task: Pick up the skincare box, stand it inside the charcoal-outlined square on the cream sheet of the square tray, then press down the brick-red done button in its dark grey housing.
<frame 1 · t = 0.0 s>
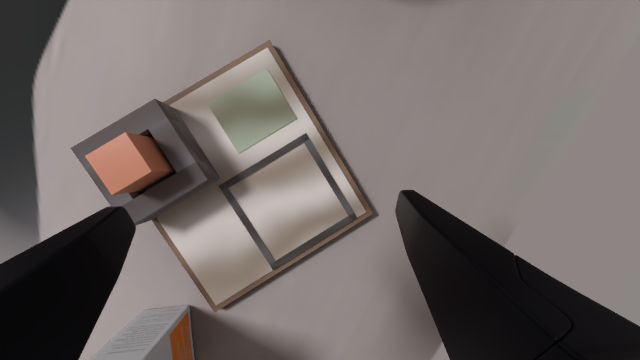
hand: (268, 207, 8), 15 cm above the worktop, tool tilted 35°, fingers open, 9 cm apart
square tray: (243, 178, 23), on the worktop
done button: (134, 164, 18), point 5 cm above the worktop, slide at 0.0 cm
skincare box: (172, 334, 23), on the worktop
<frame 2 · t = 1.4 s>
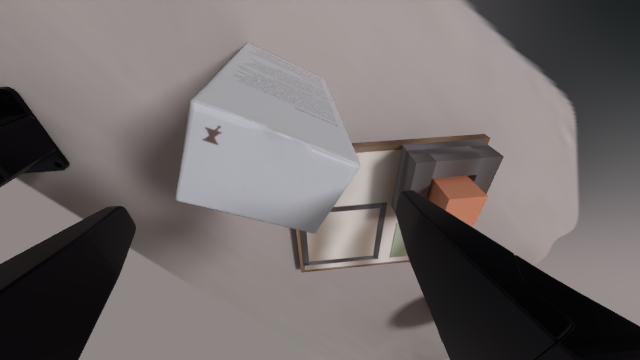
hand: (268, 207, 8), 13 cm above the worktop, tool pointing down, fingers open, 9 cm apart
square tray: (377, 211, 27), on the worktop
done button: (452, 200, 21), point 5 cm above the worktop, slide at 0.0 cm
skincare box: (279, 88, 19), on the worktop
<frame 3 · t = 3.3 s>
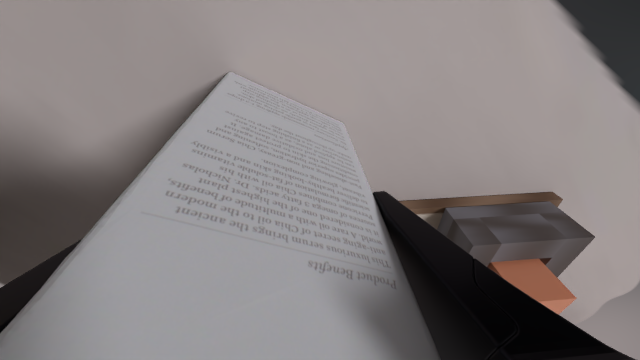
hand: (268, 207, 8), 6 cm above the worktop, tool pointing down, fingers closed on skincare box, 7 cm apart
square tray: (400, 275, 21), on the worktop
done button: (515, 289, 15), point 5 cm above the worktop, slide at 0.0 cm
skincare box: (277, 133, 13), on the worktop, touching gripper
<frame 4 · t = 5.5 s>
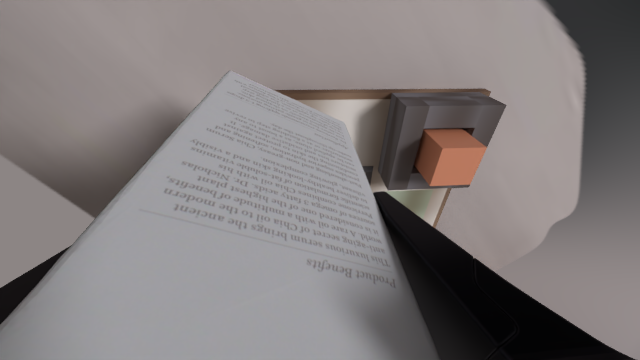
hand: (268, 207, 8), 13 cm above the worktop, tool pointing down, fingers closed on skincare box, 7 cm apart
square tray: (362, 178, 24), on the worktop
done button: (446, 156, 18), point 5 cm above the worktop, slide at 0.0 cm
skincare box: (278, 132, 13), point 7 cm above the worktop, touching gripper
when the fingers open (8 cm above the worktop, at t = 7.8 s): skincare box drops 1 cm, resting on square tray.
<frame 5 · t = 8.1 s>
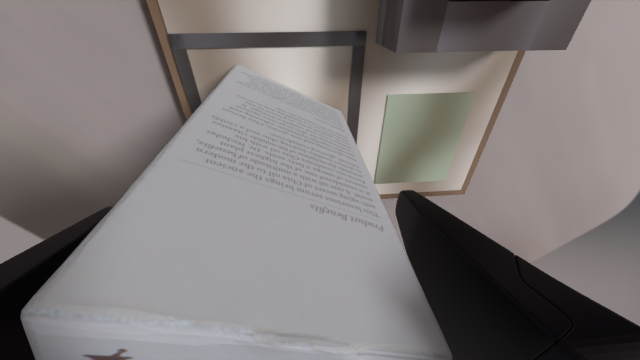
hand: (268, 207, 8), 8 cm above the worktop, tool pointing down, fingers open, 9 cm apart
square tray: (349, 72, 14), on the worktop
skincare box: (280, 122, 14), point 1 cm above the worktop, touching square tray
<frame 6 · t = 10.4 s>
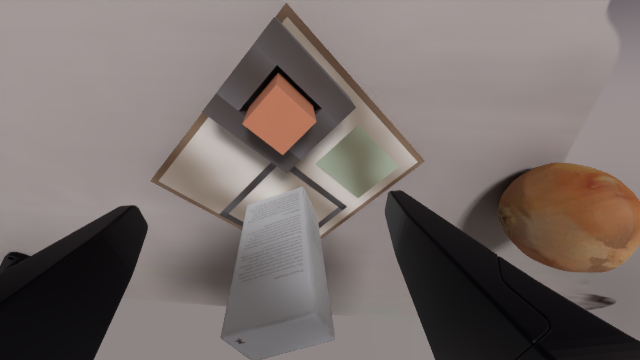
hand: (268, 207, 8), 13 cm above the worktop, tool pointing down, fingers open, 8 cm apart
square tray: (292, 166, 23), on the worktop
onion: (521, 184, 28), on the worktop
done button: (280, 113, 16), point 5 cm above the worktop, slide at 0.0 cm
skincare box: (284, 208, 25), point 1 cm above the worktop, touching square tray
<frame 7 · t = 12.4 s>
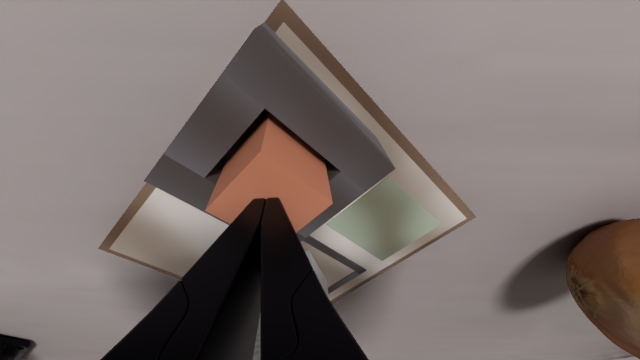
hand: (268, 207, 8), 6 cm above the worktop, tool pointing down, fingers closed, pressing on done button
square tray: (293, 223, 17), on the worktop
onion: (594, 235, 21), on the worktop
done button: (273, 180, 10), point 4 cm above the worktop, slide at 0.3 cm, touching gripper
skincare box: (283, 272, 19), point 1 cm above the worktop, touching square tray
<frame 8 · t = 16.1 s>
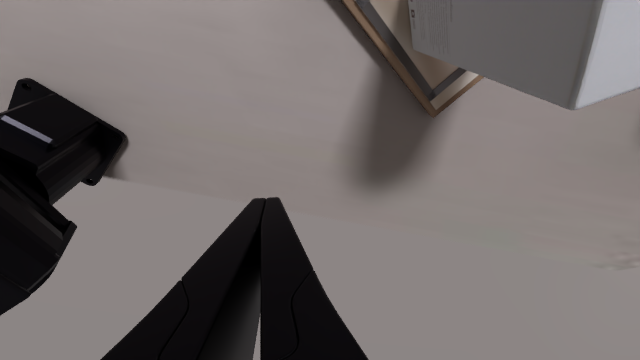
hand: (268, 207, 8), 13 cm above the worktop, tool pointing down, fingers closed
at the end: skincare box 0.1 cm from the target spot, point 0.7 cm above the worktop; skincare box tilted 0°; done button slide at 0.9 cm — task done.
